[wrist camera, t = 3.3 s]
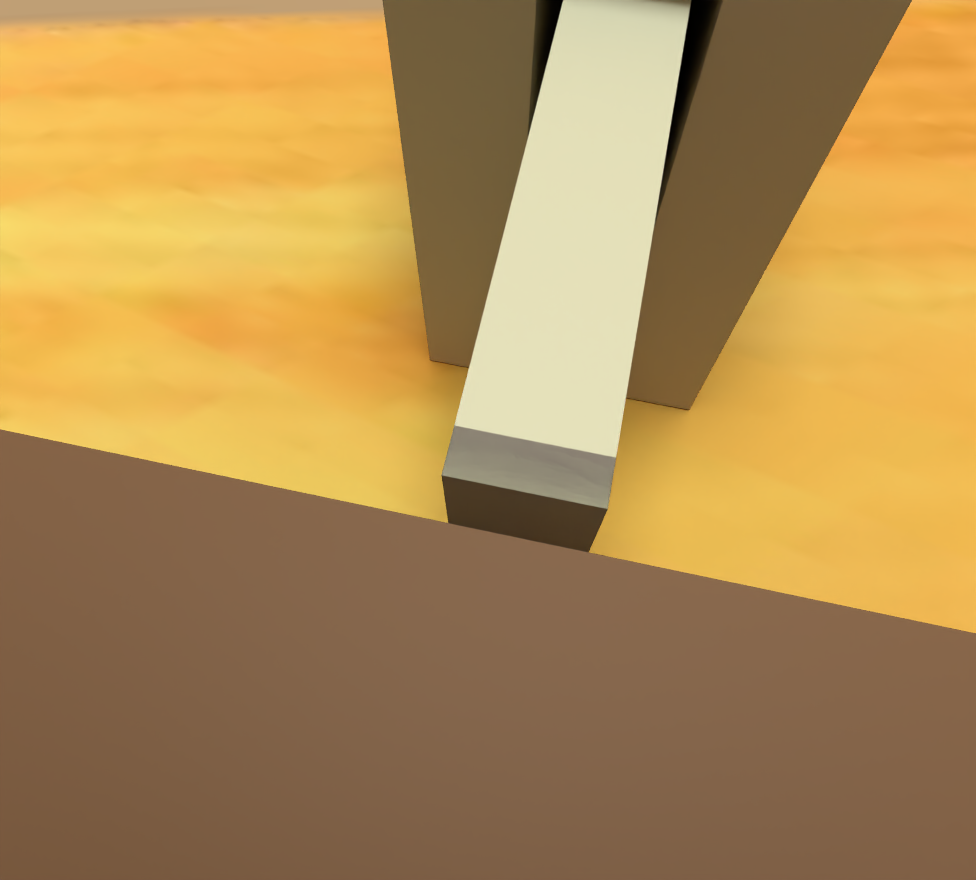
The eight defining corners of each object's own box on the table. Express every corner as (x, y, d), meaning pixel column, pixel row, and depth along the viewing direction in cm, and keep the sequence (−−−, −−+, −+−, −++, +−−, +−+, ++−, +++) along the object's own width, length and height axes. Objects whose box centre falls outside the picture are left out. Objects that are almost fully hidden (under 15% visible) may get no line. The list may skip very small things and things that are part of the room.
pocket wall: (689, 409, 18) (944, -61, 8) (430, 359, 19) (364, -142, 9) (725, 127, 22) (938, -454, 12) (504, 92, 22) (520, -496, 12)
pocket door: (541, 659, 15) (607, 508, 7) (465, 642, 16) (442, 474, 7) (604, 314, 19) (703, -78, 10) (541, 303, 19) (586, -94, 10)
